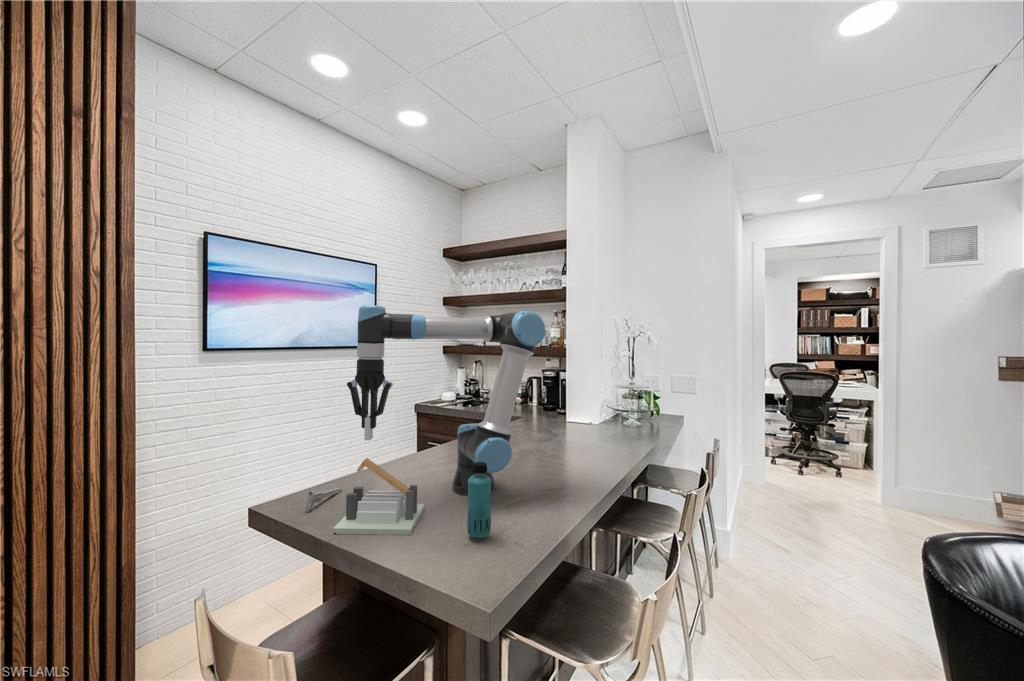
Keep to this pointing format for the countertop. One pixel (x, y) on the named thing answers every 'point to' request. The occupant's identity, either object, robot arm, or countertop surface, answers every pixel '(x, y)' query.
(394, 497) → the processor board
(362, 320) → the robot arm
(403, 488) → the bar
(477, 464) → the beverage bottle
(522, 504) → the countertop surface
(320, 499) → the caliper
